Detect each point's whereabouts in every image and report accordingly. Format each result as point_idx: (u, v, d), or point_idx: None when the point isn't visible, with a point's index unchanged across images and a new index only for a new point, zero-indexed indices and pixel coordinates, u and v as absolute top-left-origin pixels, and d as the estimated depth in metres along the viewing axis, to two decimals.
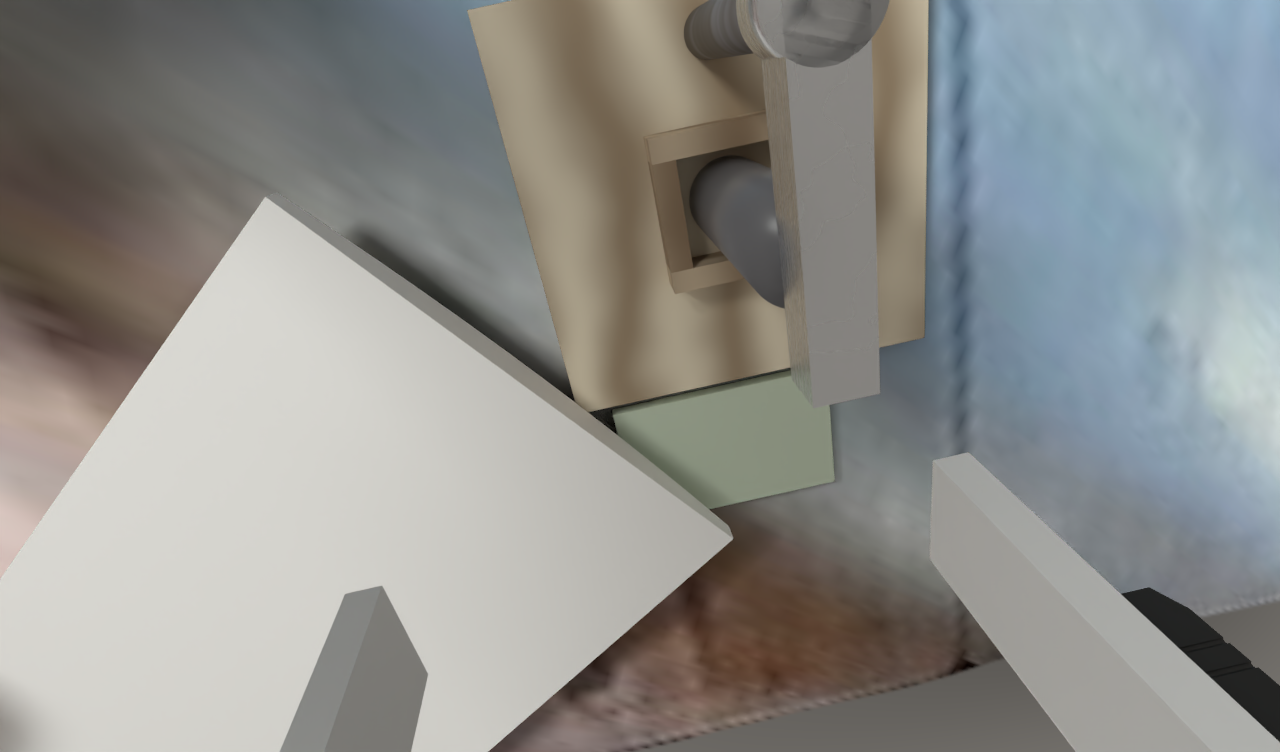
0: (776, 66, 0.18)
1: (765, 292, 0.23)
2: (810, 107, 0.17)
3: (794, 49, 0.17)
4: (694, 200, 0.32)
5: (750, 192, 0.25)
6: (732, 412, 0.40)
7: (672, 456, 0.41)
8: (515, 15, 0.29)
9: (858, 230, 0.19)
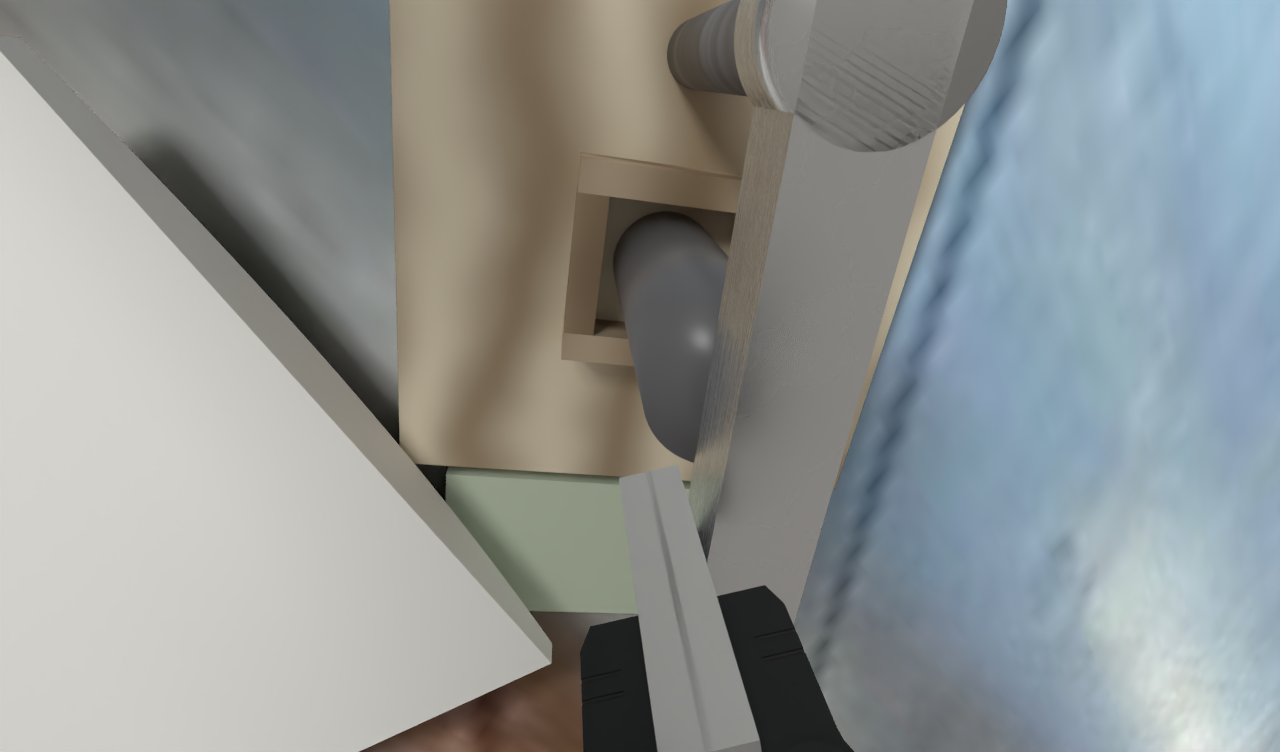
0: (775, 123, 0.11)
1: (659, 429, 0.16)
2: (810, 207, 0.10)
3: (812, 105, 0.10)
4: (619, 253, 0.24)
5: (684, 280, 0.17)
6: (594, 510, 0.33)
7: (507, 540, 0.33)
8: None
9: (828, 409, 0.12)
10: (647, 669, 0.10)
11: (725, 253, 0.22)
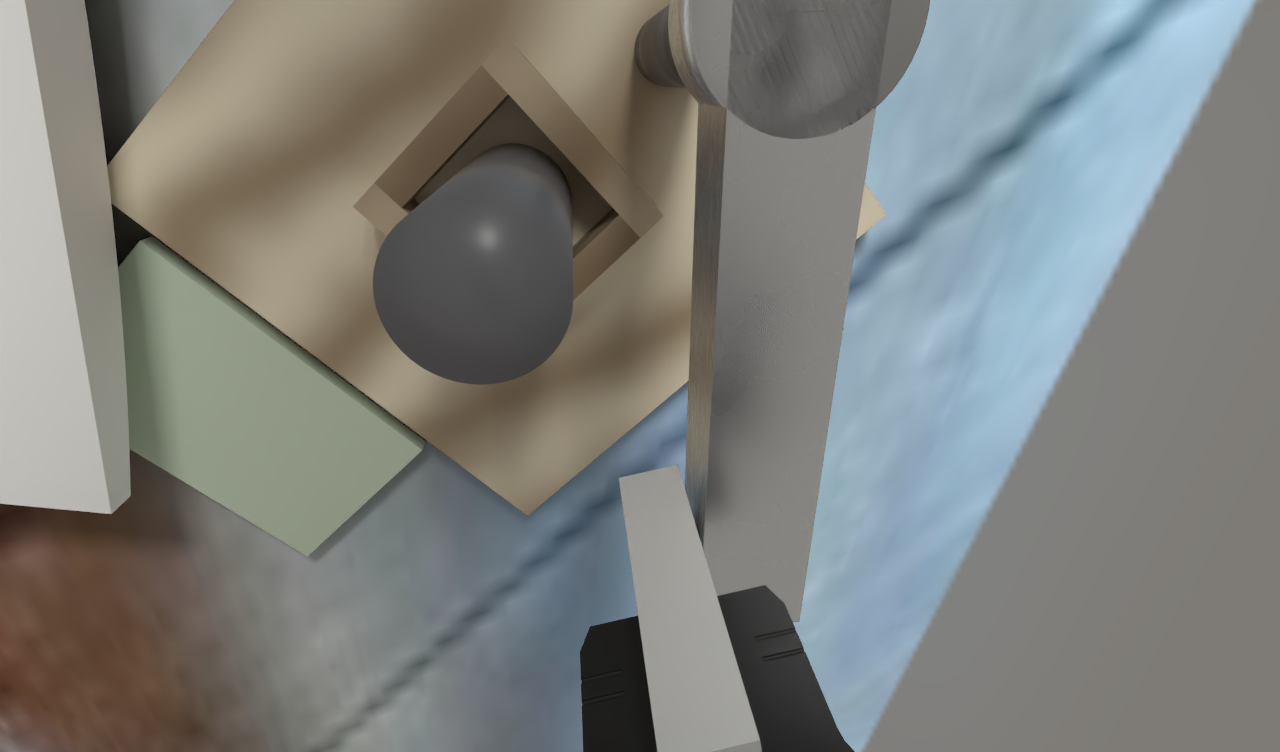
0: (714, 119, 0.10)
1: (382, 283, 0.14)
2: (756, 200, 0.10)
3: (743, 98, 0.10)
4: (480, 154, 0.22)
5: (512, 182, 0.16)
6: (283, 388, 0.28)
7: (160, 358, 0.27)
8: None
9: (804, 399, 0.12)
10: (647, 669, 0.10)
11: (571, 217, 0.21)
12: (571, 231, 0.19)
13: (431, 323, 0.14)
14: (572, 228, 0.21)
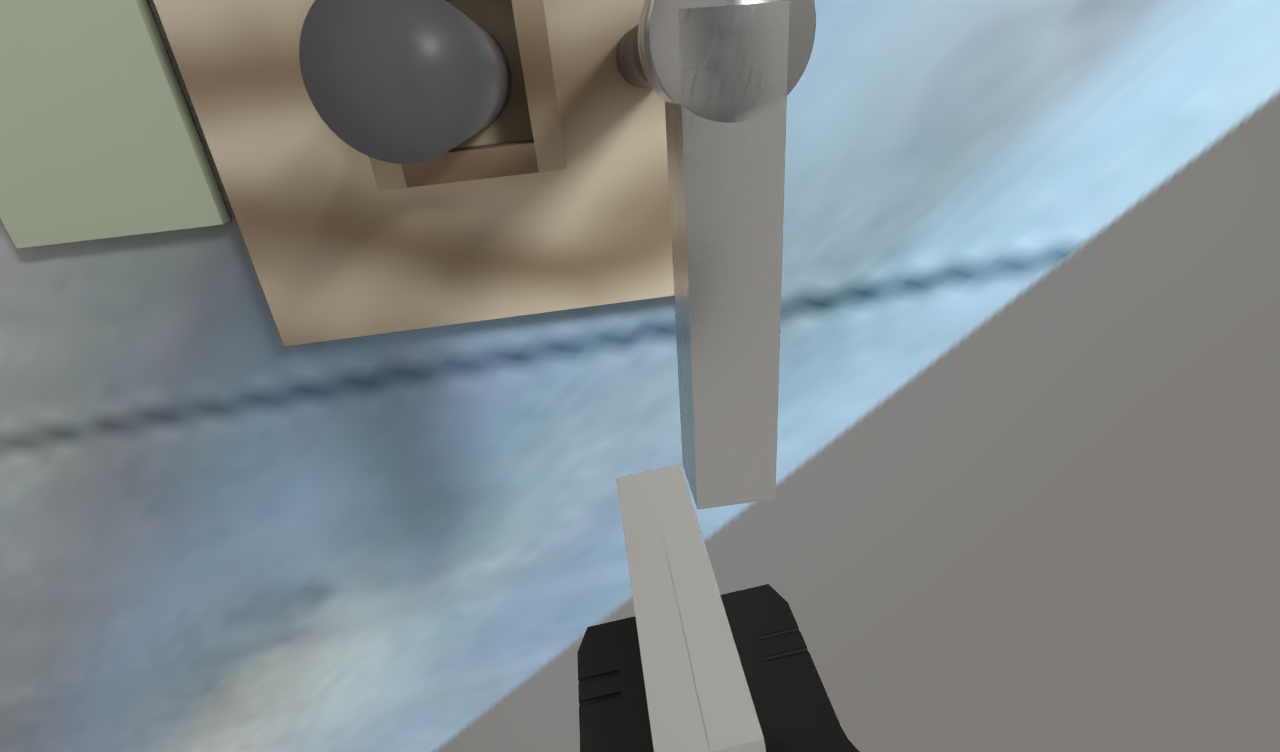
0: (675, 113, 0.15)
1: (324, 5, 0.15)
2: (708, 168, 0.14)
3: (693, 96, 0.14)
4: None
5: (474, 29, 0.18)
6: (120, 74, 0.26)
7: None
8: None
9: (759, 316, 0.16)
10: (644, 669, 0.10)
11: (497, 108, 0.23)
12: (492, 110, 0.21)
13: (342, 67, 0.16)
14: (492, 117, 0.23)
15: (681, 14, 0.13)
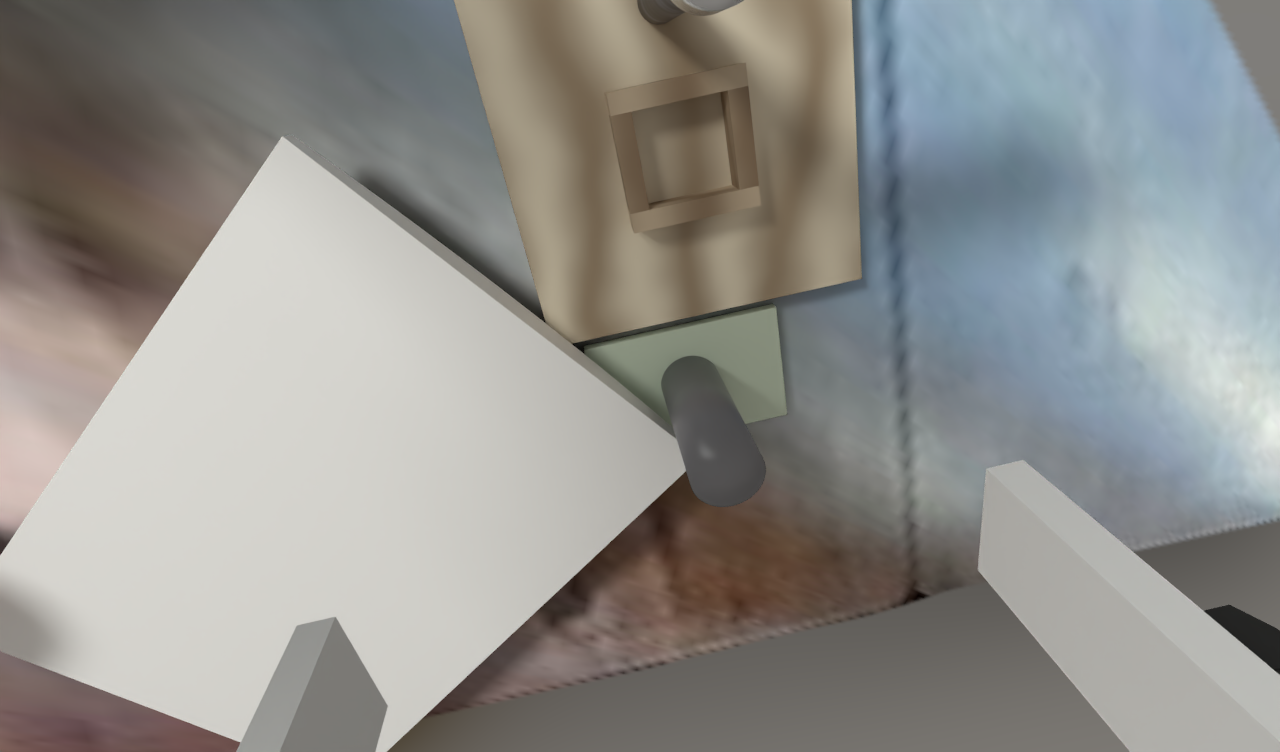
0: None
1: (703, 498, 0.36)
2: None
3: None
4: (664, 391, 0.44)
5: (695, 424, 0.37)
6: (692, 348, 0.45)
7: (639, 389, 0.46)
8: None
9: None
10: None
11: (717, 384, 0.41)
12: (724, 400, 0.39)
13: (726, 492, 0.36)
14: (721, 388, 0.41)
15: None
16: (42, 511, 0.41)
